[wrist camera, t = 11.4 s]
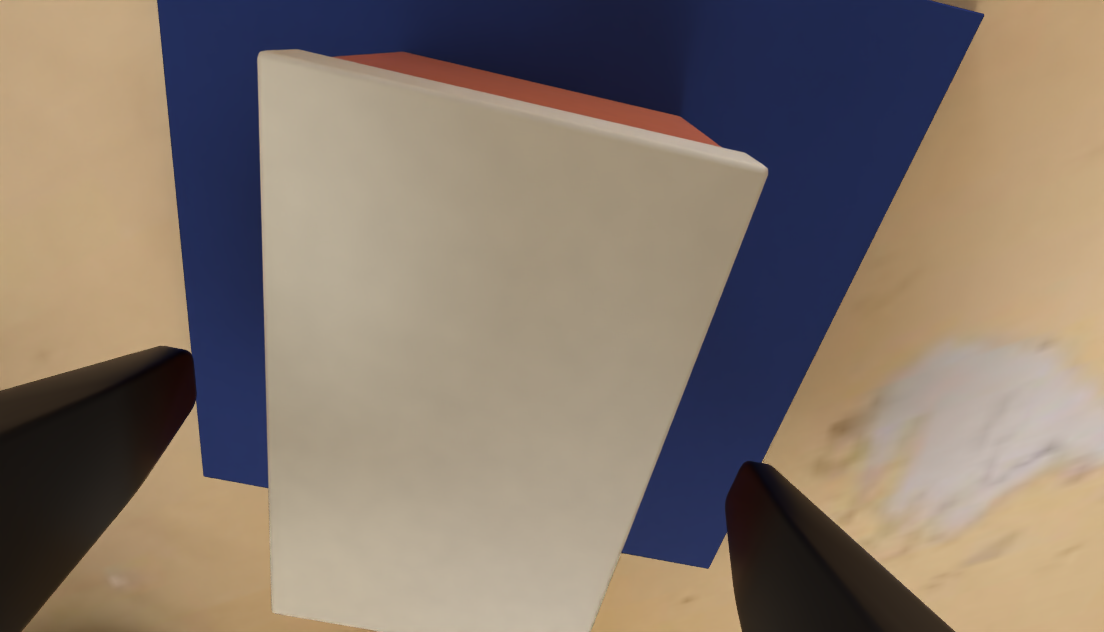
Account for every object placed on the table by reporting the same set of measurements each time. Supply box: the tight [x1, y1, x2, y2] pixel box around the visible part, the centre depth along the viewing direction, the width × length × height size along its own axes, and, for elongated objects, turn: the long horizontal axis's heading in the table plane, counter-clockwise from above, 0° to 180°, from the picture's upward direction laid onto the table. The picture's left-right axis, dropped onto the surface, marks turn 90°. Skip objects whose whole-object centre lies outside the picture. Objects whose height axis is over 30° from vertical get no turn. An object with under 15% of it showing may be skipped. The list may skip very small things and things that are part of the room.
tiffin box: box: [257, 49, 768, 632], centre depth 11 cm, size 10×6×6 cm, turn 168°
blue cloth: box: [157, 0, 984, 569], centre depth 14 cm, size 16×16×1 cm
